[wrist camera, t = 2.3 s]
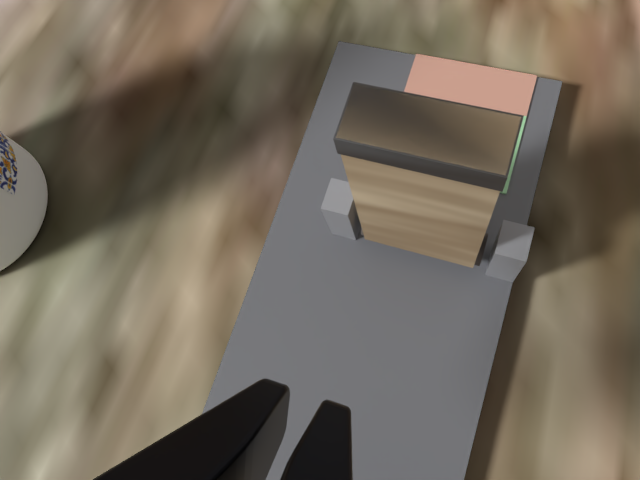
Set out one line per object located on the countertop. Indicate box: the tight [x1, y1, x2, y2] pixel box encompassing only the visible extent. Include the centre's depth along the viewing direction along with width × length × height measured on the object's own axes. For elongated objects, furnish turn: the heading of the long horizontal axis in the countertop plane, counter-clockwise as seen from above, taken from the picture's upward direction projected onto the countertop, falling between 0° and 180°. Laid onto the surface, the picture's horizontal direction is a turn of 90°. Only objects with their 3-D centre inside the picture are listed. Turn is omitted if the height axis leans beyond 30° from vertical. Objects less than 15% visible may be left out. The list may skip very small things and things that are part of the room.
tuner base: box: [202, 41, 562, 480], centre depth 21 cm, size 20×10×4 cm, turn 162°
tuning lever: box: [333, 82, 524, 268], centre depth 17 cm, size 2×4×9 cm, turn 72°
